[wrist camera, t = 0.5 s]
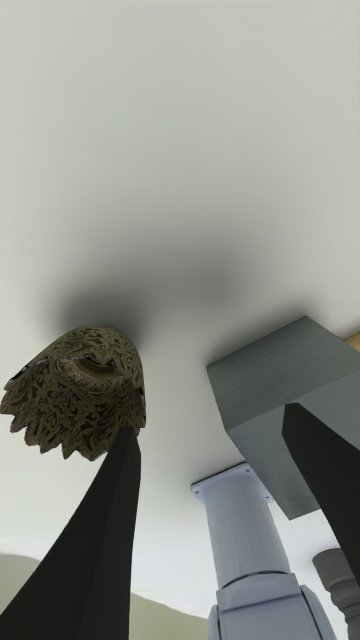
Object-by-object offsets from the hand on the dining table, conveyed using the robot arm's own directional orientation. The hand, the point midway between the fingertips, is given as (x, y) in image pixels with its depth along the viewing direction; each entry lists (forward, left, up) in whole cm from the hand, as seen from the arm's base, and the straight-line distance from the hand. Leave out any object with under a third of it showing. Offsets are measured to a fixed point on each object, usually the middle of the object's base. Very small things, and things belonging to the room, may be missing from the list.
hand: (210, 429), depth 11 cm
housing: (-11, -5, -10) cm, 16 cm away
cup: (+3, +6, -10) cm, 12 cm away
